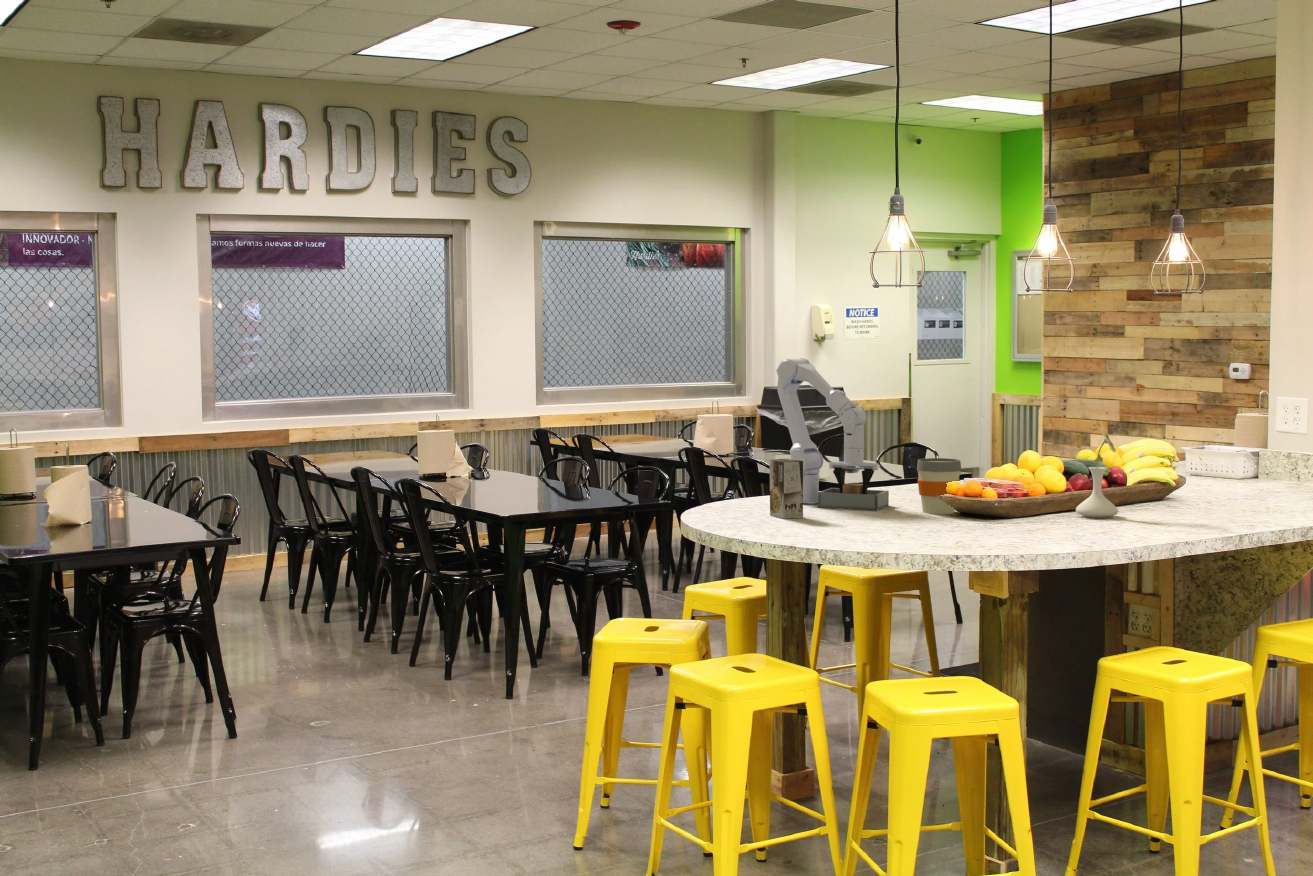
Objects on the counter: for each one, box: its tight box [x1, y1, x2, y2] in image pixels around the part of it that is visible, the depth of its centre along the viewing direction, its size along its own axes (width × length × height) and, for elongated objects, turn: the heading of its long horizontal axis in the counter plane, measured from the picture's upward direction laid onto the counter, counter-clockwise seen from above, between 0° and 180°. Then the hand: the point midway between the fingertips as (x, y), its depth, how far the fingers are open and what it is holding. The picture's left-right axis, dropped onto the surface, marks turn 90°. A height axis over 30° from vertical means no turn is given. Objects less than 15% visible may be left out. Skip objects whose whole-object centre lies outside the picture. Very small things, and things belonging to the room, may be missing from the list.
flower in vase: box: [1075, 426, 1119, 518], centre depth 377 cm, size 13×11×25 cm
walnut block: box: [843, 483, 863, 494], centre depth 402 cm, size 5×5×6 cm
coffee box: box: [769, 458, 804, 520], centre depth 381 cm, size 9×6×16 cm
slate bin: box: [817, 487, 890, 511], centre depth 402 cm, size 18×12×4 cm, turn 65°
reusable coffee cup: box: [916, 457, 962, 515], centre depth 389 cm, size 13×13×15 cm
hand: (853, 493), depth 402 cm, fingers open, 6 cm apart
